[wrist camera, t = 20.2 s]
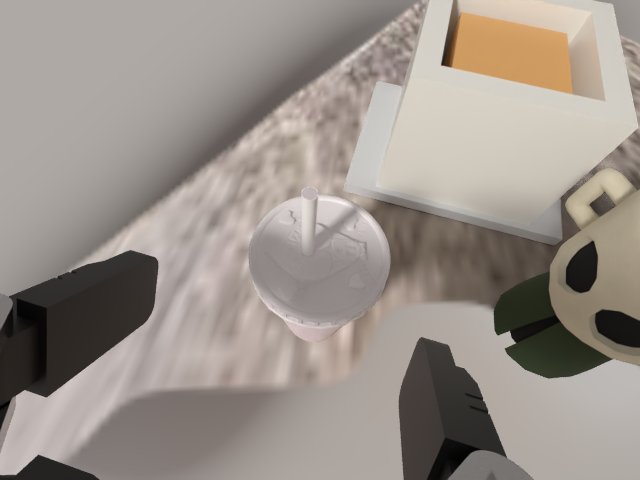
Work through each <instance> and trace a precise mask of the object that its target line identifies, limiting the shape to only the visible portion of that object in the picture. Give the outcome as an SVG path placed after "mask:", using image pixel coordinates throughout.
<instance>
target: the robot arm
mask: <svg viewBox="0 0 640 480" xmlns="http://www.w3.org/2000/svg"><path fill="white" fill-rule="evenodd" d="M157 275H158V261H157V259H156V258H155V257H152V256H149V255H145V254H142V253H139V252H135V251H132V250H130V251H127V252H124V253H122V254H120V255H117V256H115V257H112V258H110V259H108V260H105V261H102V262H96V263H91V264H87V265H85V266H82V267H80V268H77V269H75V270H72V272H71V273H70V272H67V273H65V274H63V275H60V276H58V278H53V279H50V280H48V281H46V282H43V283H41V284H38V285H36V286H33V287H31V288H29V289H26V290H24V291H21V292H19V293H16V294H14V295H12V296H9V297H8V296H5V295H3V294H0V452H1V449H2V446H3V443H4V440H5V437H6V434H7V431H8V428H9V425H10V422H11V419H12V416H13V413H14V410H15V406H16V395H18V394H19V393H21V392H22V391H24V390H26V391H29V392H32V393H35V394H38V395H41V396H44V397H48V396H49V395H51V394H52V393H53V392H54V391H56V390H57V389H58V388H60V387H61V386H62V385H64V384H65V383H66V382H68V381H69V380H70V379H72V378H73V377H74V376H76V375H77V374H78V373H80V372H81V371H82V370H84V369H85V368H86V367H87V366H89V365H90V364H91V363H93V362H94V361H95V360H97V359H98V358H99V357H101V356H102V355H103V354H105V353H106V352H107V351H109V350H110V349H111V348H113V347H114V346H115V345H116V344H118V343H119V342H120V341H122V340H123V339H124V338H126V337H127V336H128V335H130V334H131V333H132V332H134V331H135V330H136V329H138V328H139V327H140V326H142V325H143V324H144V323H145V322H146V321H147V320H148V318H149V317H150V315H151V313H152V311H153V308H154V303H155V293H156V284H157ZM399 418H400V431H401V444H402V445H401V447H402V461H403V474H404V475H403V476H404V480H533V479H532V477H531V476H530V475H528V473H526V472H525V471H524V470H523V469H522V468H521V467H519V466H518V465H517V464H515V463H514V462H513V461H511V460H509V459H508V458H507V456H506V454H505V452H504V449H503V446H502V444H501V441H500V439H499V436H498V434H497V432H496V429H495V427H494V424H493V422H492V419H491V417H490V415H489V414H488V409H487V407H486V404H485V402H484V401H483V397H482V394H481V392H480V389H479V387H478V384H477V383H476V382H475V381H474V379H473V378H472V377H471V376H470V375H469V373H468V372H467V371H466V370H465V369H464V368H461V367H457V366H456V365H455V362H454V359H453V356H452V353H451V350H450V348H449V346H448V345H446V344H443V343H439V342H436V341H433V340H430V339H426V338H423V337H421V338H420V339H419V340H418V342H417V345H416V347H415V350H414V352H413V355H412V358H411V360H410V363H409V366H408V369H407V371H406V375H405V377H404V379H403V382H402V386H401V390H400V395H399ZM0 480H99V479H98V478H96V477H95V476H94V475H92V474H90V473H87V472H84V471H81V470H79V469H76V468H73V467H71V466H68V465H65V464H62V463H60V462H57V461H54V460H51V459H49V458H46V457H43V456H40V455H38V456H37V457H35V458H34V459H33V460H32V461H31V462H30V463H29V464H28V465H27V466H26V467H24V468H23V469H22V470H21V471H20V472H19V473H18V474H17V475H0Z"/></svg>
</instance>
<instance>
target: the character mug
mask: <svg viewBox="0 0 640 480" xmlns="http://www.w3.org/2000/svg"><path fill="white" fill-rule="evenodd" d="M604 192H605V193H606V194H607V195H608V196H609V197H610V199H611V200H612V201H613V202H614V204H615V205H616V207H615V208H613V209H612V210H610V211H609V212H607V213H606V214H604V215H603V216H601V217H600V218H599V217H598V215H597V214H596V213H595V211H594V210H593V209H592V208H591V206H590V203H591V202H593V201H594V200H595V199H597V198H598V197H599V196H600V195H602V194H603V193H604ZM565 207H566V210H567V212H568V213H569V215H570V216H571V217H572V219H573V220H574V221H575V223H576V224H577V226H578V227H579V228H580V230H581V231H580V232H578V233H577V234H576V235H574V236H573V237H572V238H570V239H569V240H568V241H566V242H565V243H564V244H562V245H561V247H560V248H559V250H558V252H557V254H556V256H555V258H554V260H553V261H552V263H551V265H550V271H549V272H547V273H544V274H541V275H539V276H536V277H533V278H531V279H529V280H527V281H525V282H523V283H520V284H518V285H516V286H515V287H513V288H512V289H510V290H509V291H507V292H506V293H504V294H502V295H501V297H500V299H499V301H498V303H497V305H496V308H495V310H494V326H495V332H496V334H497V335H500V334H503V333H505V332H508V331H510V333H511V336H512V339H513V340H514V341H515V342H516V344H514V345H512V346H510V347H507V348H505V350H506V352H507V354H508V355H509V356H510V357H511V358H512V359H513V360H515V361H516V362H517V363H518V364H519V365H520V366H522V367H523V368H524V369H525V370H527V371H530V372H533V373H535V374H538V375H540V376H543V377H546V378H558V377H569V376H574V375H577V374H579V373H582V372H585V371H588V370H590V369H592V368H595V367H597V366H599V365H601V364H603V363H605V362H607V361H610V360H612V359H616V360H620V361H623V362H627V363H631V364H635V365H638V366H640V189H639V190H637V189H636V188H635V187H634V186H633V185H632V184H631V183H630V181H629V180H628V179H627V178H626V177H625V176H624V175H623V173H621V172H619V171H617V170H616V169H613V168H611V167H607V168H605V169H602V170H600V171H599V172H597V173H596V174H595V175H594V176H593V177H592V178H590V179H589V180H588V181H587V182H586V183H585V184H584V185H582V186H581V187H580V188H579V189H578V190H577V191H575V192H574V193H573V194H572V195H571V196H570V197H569V198H568V199H567V201H566V203H565Z"/></svg>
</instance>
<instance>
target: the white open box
mask: <svg viewBox="0 0 640 480" xmlns="http://www.w3.org/2000/svg"><path fill="white" fill-rule="evenodd" d="M461 12H464V13H469V14H474V15H479V16H484V17H489V18H494V19H499V20H504V21H508V22H513V23H518V24H523V25H528V26H533V27H538V28H543V29H548V30H552V31H557V32H562V33H567V37H568V48H569V59H570V70H571V81H572V92H573V94H569V93H564V92H560V91H555V90H550V89H546V88H541V87H537V86H532V85H528V84H523V83H519V82H514V81H510V80H505V79H500V78H496V77H491V76H487V75H482V74H478V73H473V72H469V71H464V70H459V69H455V68H450V67H446V66H441V64H442V61H443V59H444V56H445V53H446V51H447V48H448V46H449V43H450V40H451V38H452V35H453V33H454V30H455V27H456V25H457V22H458V19H459V17H460V14H461ZM637 128H638V122H637V117H636V112H635V108H634V103H633V98H632V93H631V88H630V84H629V79H628V74H627V69H626V65H625V60H624V55H623V50H622V46H621V41H620V36H619V31H618V27H617V22H616V17H615V12H614V8H613V4H608V3H603V2H598V1H592V0H428V2H427V5H426V9H425V12H424V16H423V19H422V22H421V26H420V29H419V33H418V36H417V39H416V43H415V46H414V50H413V53H412V56H411V60H410V63H409V67H408V70H407V73H406V77H405V80H404V84H403V87H402V86H398V85H394V84H389V83H385V82H380V81H377V83H376V86H375V89H374V93H373V96H372V99H371V102H370V105H369V108H368V111H367V115H366V118H365V121H364V124H363V127H362V130H361V134H360V137H359V140H358V143H357V146H356V149H355V152H354V156H353V159H352V162H351V165H350V168H349V171H348V175H347V178H346V181H345V184H344V190H343V191H345V192H349V193H353V194H357V195H361V196H365V197H369V198H372V199H376V200H380V201H384V202H388V203H392V204H396V205H399V206H403V207H407V208H411V209H415V210H419V211H423V212H426V213H430V214H434V215H438V216H442V217H446V218H449V219H453V220H457V221H461V222H465V223H469V224H473V225H476V226H480V227H484V228H488V229H492V230H496V231H500V232H503V233H507V234H511V235H515V236H519V237H523V238H527V239H530V240H534V241H538V242H542V243H546V244H550V245H553V246H554V245H556V244H557V243H559V242H560V241H561V240H563V239H562V220H561V201H560V197H561V196H562V195H564V194H565V193H566V192H567V191H568V190H569V189H570V188H571V187H573V186H574V185H575V184H576V183H577V182H578V181H579V180H580V179H581V178H583V177H584V176H585V175H586V174H587V173H588V172H589V171H590V170H592V169H593V168H594V167H595V166H596V165H597V164H598V163H599V162H600V161H602V160H603V159H604V158H605V157H606V156H607V155H608V154H609V153H611V152H612V151H613V150H614V149H615V148H616V147H617V146H618V145H619V144H621V143H622V142H623V141H624V140H625V139H626V138H627V137H628V136H630V135H631V134H632V133H633V132H634V131H635V130H636V129H637Z"/></svg>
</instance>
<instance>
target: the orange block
mask: <svg viewBox="0 0 640 480" xmlns="http://www.w3.org/2000/svg"><path fill="white" fill-rule="evenodd" d="M441 66H446V67H450V68H455V69H459V70H464V71H469V72H473V73H478V74H482V75H487V76H491V77H496V78H500V79H505V80H510V81H514V82H519V83H523V84H528V85H532V86H537V87H541V88H546V89H550V90H555V91H560V92H564V93H569V94H573V92H572V81H571V70H570V59H569V48H568V37H567V33H562V32H557V31H552V30H548V29H543V28H538V27H533V26H528V25H523V24H518V23H513V22H508V21H504V20H499V19H494V18H489V17H484V16H479V15H474V14H469V13H464V12H461V14H460V17H459V19H458V22H457V25H456V27H455V30H454V33H453V35H452V38H451V40H450V43H449V46H448V48H447V51H446V53H445V56H444V59H443V61H442V64H441Z"/></svg>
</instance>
